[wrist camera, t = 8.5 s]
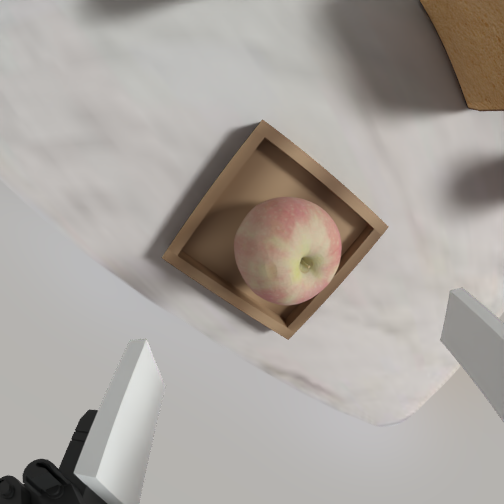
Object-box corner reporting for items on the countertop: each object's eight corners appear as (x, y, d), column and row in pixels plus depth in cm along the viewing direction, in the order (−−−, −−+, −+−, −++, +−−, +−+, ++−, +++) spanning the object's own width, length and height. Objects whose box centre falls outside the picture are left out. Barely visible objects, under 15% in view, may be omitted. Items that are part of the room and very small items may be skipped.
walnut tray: (167, 248, 28) (161, 257, 26) (260, 121, 25) (262, 119, 22) (285, 325, 31) (288, 339, 29) (377, 219, 28) (388, 226, 25)
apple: (291, 289, 29) (306, 339, 21) (218, 249, 27) (210, 290, 20) (340, 218, 27) (375, 248, 19) (267, 171, 25) (278, 182, 18)
